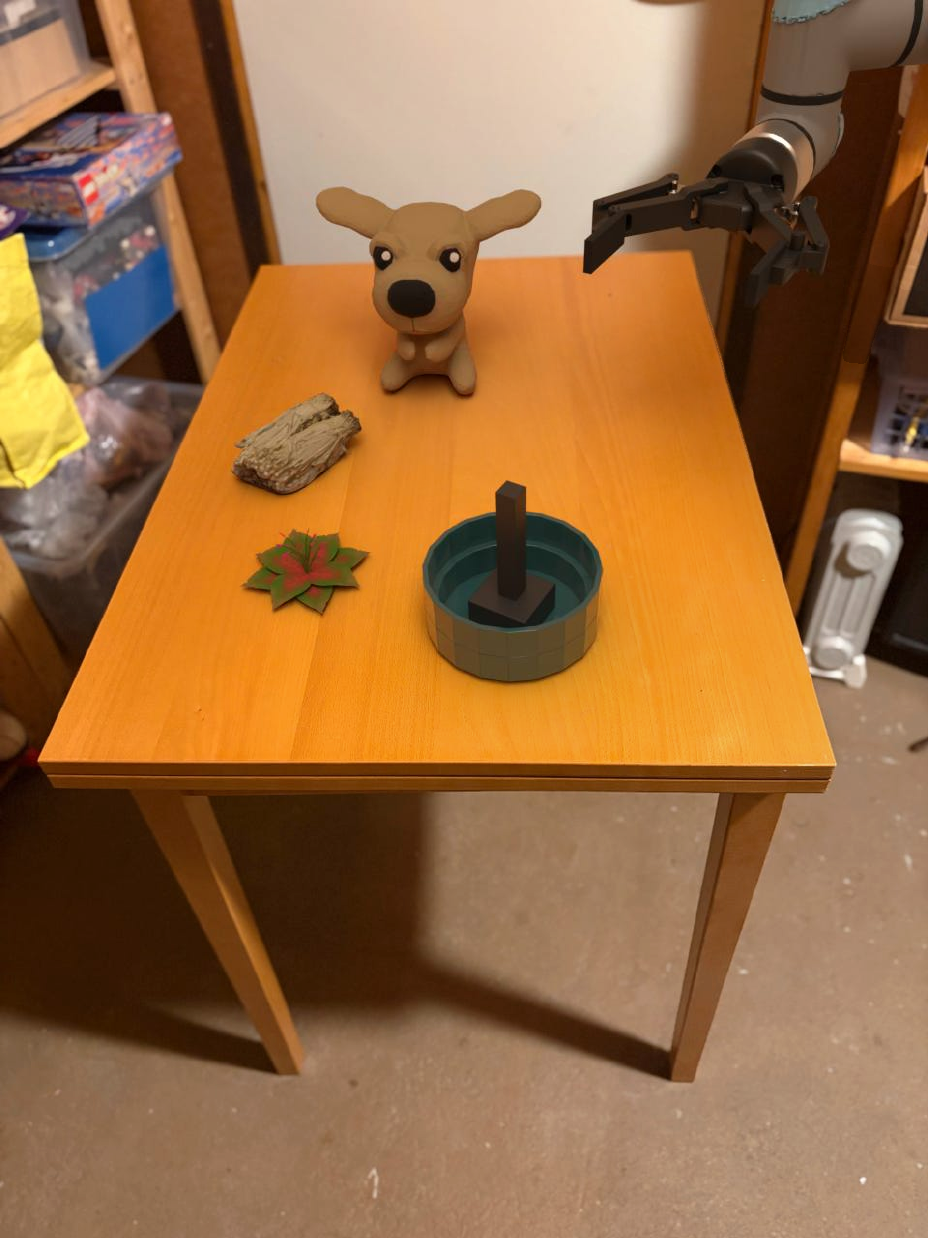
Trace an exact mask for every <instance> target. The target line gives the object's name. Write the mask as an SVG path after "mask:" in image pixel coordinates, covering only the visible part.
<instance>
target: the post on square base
mask: <svg viewBox="0 0 928 1238" xmlns="http://www.w3.org/2000/svg"><path fill="white" fill-rule="evenodd" d="M494 498H495V499H494V500H495V501H494V503H495V512H496V542H497V567H496V568H495V569H494V570H493V572H492V573H491V574H490V575H489V576H488V577H487V579H486V580H485V581H484V582H483V583H482V585H481V586H480V587H479V588H478V589H477V590H476V592H475V593H474V594H473V595H472V596H471V597H470V599H469V600H468V614H469V620H471V621H473V622H476V623H478V624H481V625H488V626H495V627H502V628H517V627H529V626H537V625H540V624H543V622H544V621H545V620H546V618H547V617H548V616H549V614H550V613H551V612H552V610H553V609H554V608H555V587H556V584H555V583H554V582H551V581H548V580H546V579H543V578H540V577H538V576H535V575H532V574H530V573H527V572H526V511H527V486H525V485H522V484H520V483H516V482H513V481H511V480H508V479H507V480H505V481H504V482H503V483H502V484H501V485H500V486H499V488H497V490H495V492H494Z"/></svg>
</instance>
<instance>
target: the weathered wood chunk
mask: <svg viewBox="0 0 928 1238" xmlns="http://www.w3.org/2000/svg"><path fill="white" fill-rule="evenodd" d="M362 429H363V427H362V425H361V422H360V418H359V417H357V416H355V415H354V412H353V411H351V410H349V409H346V410H342V411H340V405H339V403H337V401H336V399H334V397H333V396H331V395H329V394H328V393H325V392H321V393H317V394H316V395H314V396H311V397H309V398H308V399H307V400H306V401H304V402H300V403H294V405H293V406H291V407H289V408H288V409H286V410H285V411H283V412H281V413H280V414H278V416H277V417H276V418H274V419H273V420H272V421H270V422H268V423H266V424H264V425H262V426H261V427H259V428H257V429H256V430H254V431H252V432H250V433H249V434H247V435H245V436H244V437H243V438H242V439H241V440H238V441H236V442H233V445H234V447H236V448H237V449H240V450H241V451H240V452H239V454H238V455H237V458H236V459H235V460H233V463H232V467H233V468H231V469H230V472H231V473H232V474H233V475H235V476H236V478H238V479H240V480H241V481H243V482H245V483H247V484H250V485H252V486H255V487H258V488H261V489H263V490H266V491H268V492H272V493H275V494H281V495H282V494H283V495H285V494H290V493H293V492H296V491H297V490H300V489H302V488H304V487H306V486H308V485H309V484H310V483H312V482H313V481H315V479H316V477H317V476H318V475H319V474H320V473H321V472H325V471H327V470H328V469H329V468H331V467H332V466H333V465H334V464H336V463H337V461H339V460H340V458H341V457H342V455H343V454H344V453H346V454H347V455H352V452H351V453H350V452H349V451H348V450H347V449H346V444H347V443H349V442H350V441H351V439H353V437H354V436H356V435H358V434H359V433H360V432H362Z"/></svg>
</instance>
